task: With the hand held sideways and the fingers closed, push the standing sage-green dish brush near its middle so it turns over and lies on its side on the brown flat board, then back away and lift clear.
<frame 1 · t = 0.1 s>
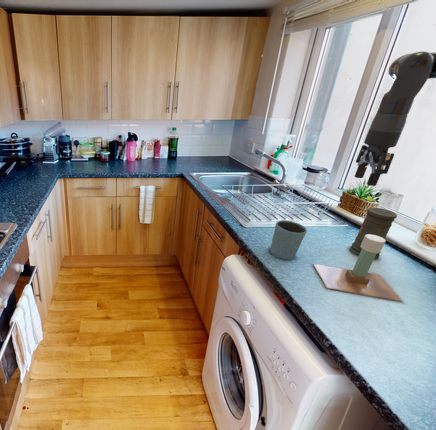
hand: (364, 181, 92), 32 cm above the worktop, tool pointing down, fingers open, 8 cm apart
brown flat board: (353, 281, 96), on the worktop
container: (363, 253, 113), on the worktop
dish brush: (356, 279, 96), resting on brown flat board
grey cup: (282, 254, 111), on the worktop
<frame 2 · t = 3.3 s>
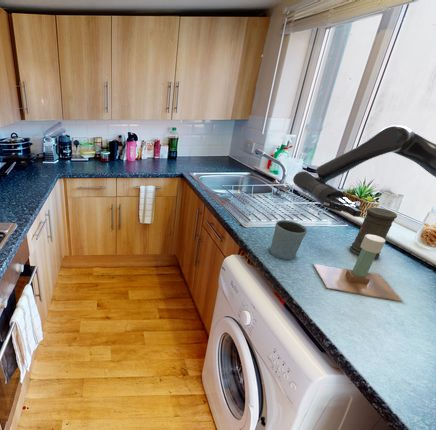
hand: (358, 214, 97), 20 cm above the worktop, tool horizontal, fingers closed
nothing on the worktop moved.
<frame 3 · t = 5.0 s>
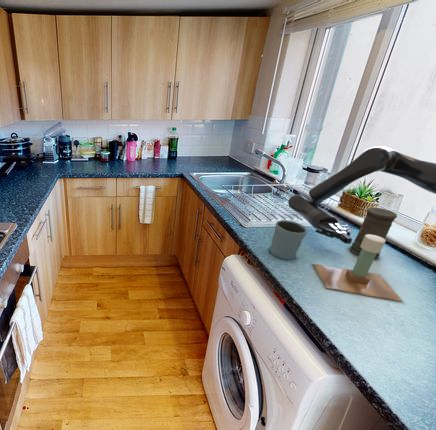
hand: (349, 241, 100), 10 cm above the worktop, tool horizontal, fingers closed
nothing on the worktop moved.
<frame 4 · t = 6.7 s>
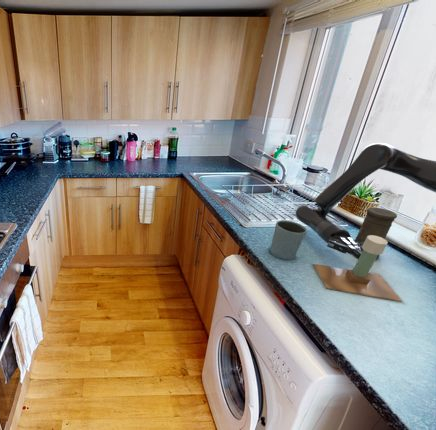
hand: (363, 258, 93), 9 cm above the worktop, tool horizontal, fingers closed
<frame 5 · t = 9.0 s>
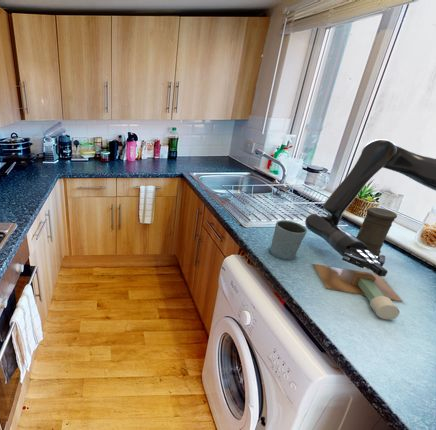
hand: (383, 274, 86), 8 cm above the worktop, tool horizontal, fingers closed
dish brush: (361, 278, 93), point 2 cm above the worktop, tilted 90°, touching brown flat board
everything else where it was.
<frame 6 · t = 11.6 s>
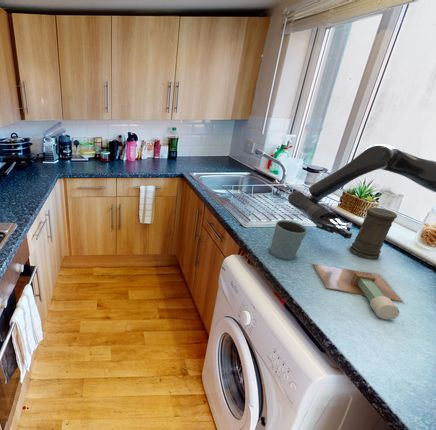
hand: (349, 236, 100), 12 cm above the worktop, tool horizontal, fingers closed
nothing on the worktop moved.
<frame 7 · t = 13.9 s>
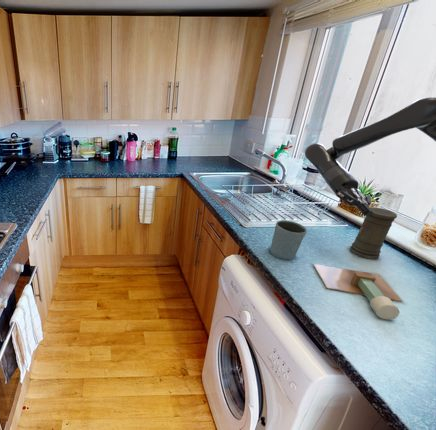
hand: (369, 214, 95), 21 cm above the worktop, tool tilted 70°, fingers closed
nothing on the worktop moved.
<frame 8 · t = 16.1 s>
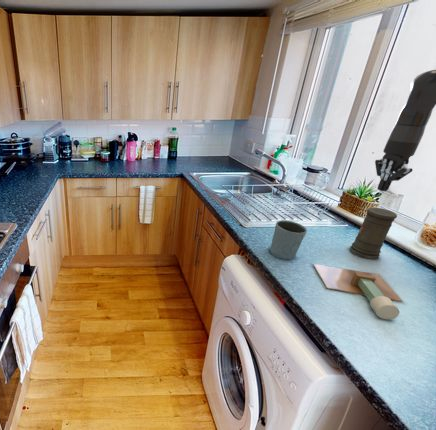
hand: (381, 190, 99), 27 cm above the worktop, tool pointing down, fingers closed
nothing on the worktop moved.
at the end: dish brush tilted 90°; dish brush inside the target area (0.9 cm from its centre), point 2.5 cm above the worktop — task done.
